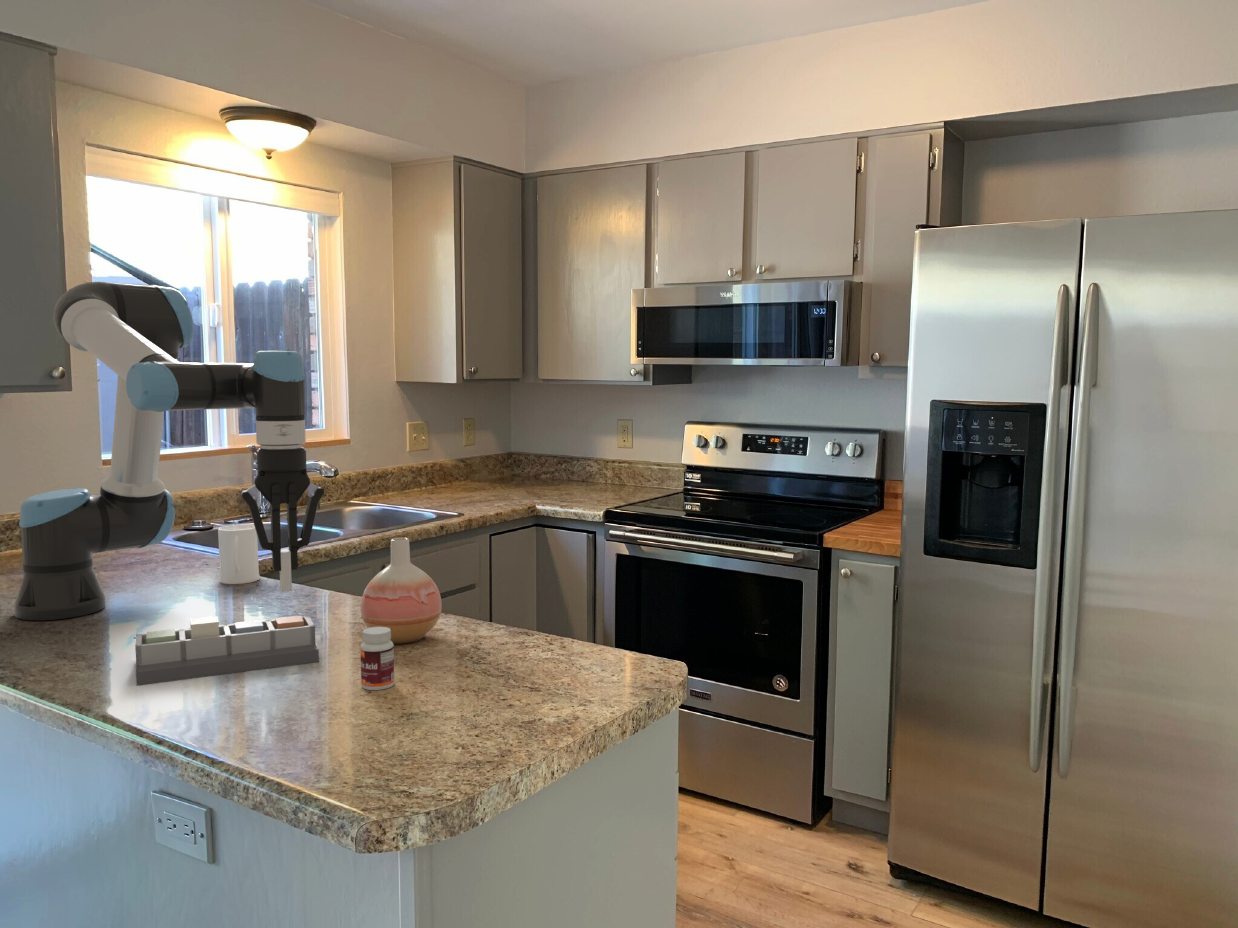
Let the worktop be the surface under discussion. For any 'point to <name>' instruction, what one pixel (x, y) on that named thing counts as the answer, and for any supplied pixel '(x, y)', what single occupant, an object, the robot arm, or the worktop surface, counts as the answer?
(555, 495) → the worktop surface
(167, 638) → the key sage
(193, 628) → the key cream
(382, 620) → the vase
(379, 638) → the pill bottle
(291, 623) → the key rust
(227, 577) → the mug
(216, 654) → the grey slotted tray
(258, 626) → the key slate
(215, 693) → the worktop surface
